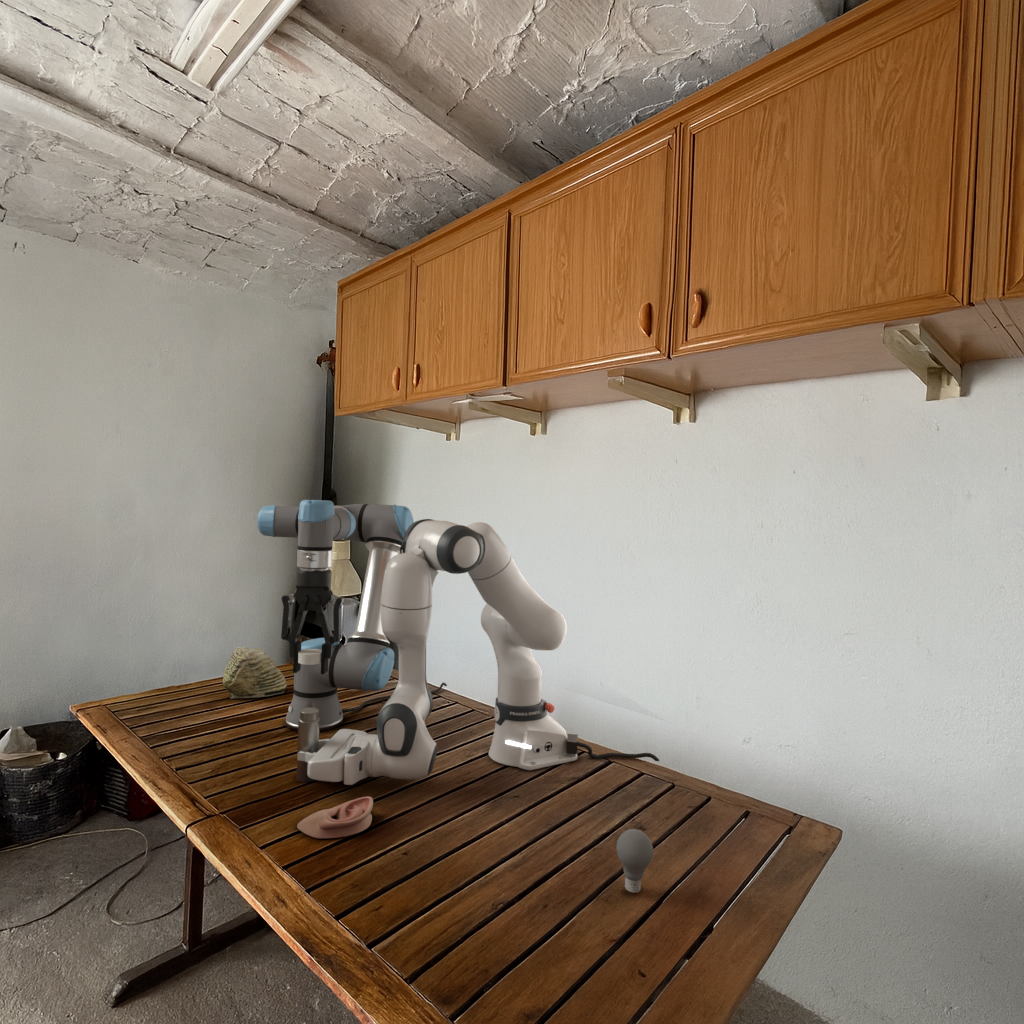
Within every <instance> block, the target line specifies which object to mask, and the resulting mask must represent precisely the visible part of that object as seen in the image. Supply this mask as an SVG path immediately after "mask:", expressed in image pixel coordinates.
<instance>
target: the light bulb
mask: <svg viewBox="0 0 1024 1024" xmlns="http://www.w3.org/2000/svg"><path fill="white" fill-rule="evenodd" d="M615 849H616V854H617V857H618V859H619V861H620V863H621V865H622V867H623V873H624V874H623V875H624V876H625V878H624V888H625V890H627V891H628V892H630V893H634V894H635V893H639V892H640V891H641V889H642V887H641V886H642V879H643V877H644V875H645V871H646V868H647V867H648V866H649V864H650V863H651V861H652V859H653V855H654V847H653V843H652V841H651V838H649V836H648V835H647V834H646V833H645V832H643V831H642V830H641V829H636V828H629V829H627V830H625V831H623V832H622V833H621V834H620V835H619V837H618V839H617V841H616V847H615Z"/></svg>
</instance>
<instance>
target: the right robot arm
mask: <svg viewBox="0 0 1024 1024" xmlns="http://www.w3.org/2000/svg"><path fill="white" fill-rule="evenodd" d="M402 551H403V553H402ZM439 571H440V572H441V571H442V572H447V573H449V574H453V575H454V574H455V575H458V574H459V575H460V574H466V573H467V574H468V575H469V578H470V579H471V582H472V583H473V584H474V587H475V588H476V590H477V591H478V593H479V595H480V596H481V598H482V600H483V601H484V602H485V603H486V604H484V606H483V608H482V611H481V613H480V625H481V628H482V630H483V631H484V632H485V633H486V635H487V636H488V638H489V640H490V643H491V645H492V649H493V652H494V655H495V660H496V665H497V695H496V696H497V697H496V698H495V704H494V715H493V716H494V722H495V723H494V730H493V735H492V740H491V743H490V747H489V750H488V752H487V753H488V756H489V758H490V759H491V760H492V761H494V762H496V763H499V764H502V765H505V766H508V767H509V766H510V767H517V768H519V769H522V770H526V771H534V770H538V769H543V768H548V767H551V766H556V765H560V764H565V763H571V762H574V761H577V760H578V747H580V748H584V749H585V750H587V753H588V754H587V755H588V756H589V757H590V758H592V759H596V760H598V759H606V758H607V759H608V758H621V759H622V758H623V759H641V758H642V759H643V758H651V759H652V760H654V761H655V762H660V758H658V757H657V756H656V755H655V754H653V753H651V752H640V753H623V752H608V753H602V754H594V753H593V748H592V747H591V746H590V745H588V744H586V743H583V742H580V741H579V740H578V739H579V737H578V736H579V735H578V734H577V733H568V732H567V731H566V729H565V728H564V727H563V726H562V725H561V724H560V723H559V722H558V721H557V720H555V719H554V718H553V717H552V716H551V715H549V714H552V713H554V711H555V709H556V708H555V706H554V705H553V704H552V703H550V702H548V701H546V700H544V699H542V687H543V686H542V685H543V671H542V668H541V666H540V664H539V663H538V662H537V660H536V659H535V657H534V655H533V654H532V653H533V652H532V650H534V651H554V650H557V649H559V647H561V646H562V644H563V643H564V641H565V639H566V637H567V634H568V633H567V631H568V625H567V621H566V618H565V616H564V615H563V613H561V612H560V611H558V610H557V609H556V608H554V607H553V606H551V605H550V604H549V603H547V602H546V601H545V599H544V598H542V597H541V596H540V595H539V593H538V592H537V591H536V590H535V589H534V587H532V586H531V585H530V584H529V582H528V581H527V580H526V578H525V577H524V576H523V574H522V572H521V571H520V569H519V567H518V565H517V563H516V561H515V560H514V558H513V556H512V554H511V551H509V549H508V547H507V545H506V544H505V542H504V541H503V540H502V537H501V536H499V534H498V533H497V532H496V531H495V529H494V528H493V527H492V525H490V524H488V523H486V522H481V521H478V522H472V523H470V524H468V525H467V526H466V525H462V524H458V523H455V522H452V521H448V520H435V519H431V518H423V519H419V520H416V521H414V523H412V524H411V525H410V526H409V527H408V529H407V530H406V532H405V535H404V537H403V542H402V545H401V547H400V554H398V555H396V556H394V557H392V558H391V559H390V560H389V562H388V564H387V567H386V570H385V575H384V580H383V586H382V593H381V609H380V616H381V625H382V631H383V633H384V635H385V636H386V638H387V640H388V641H391V642H392V643H394V644H396V646H397V649H398V681H397V684H396V686H395V688H394V690H393V692H392V693H391V695H392V696H391V697H390V698H388V699H387V701H386V702H385V703H384V705H383V706H382V707H381V708H380V710H379V713H378V714H377V718H376V733H377V734H373V733H368V732H366V731H363V730H359V729H351V728H341V729H339V730H338V731H336V733H334V735H333V736H332V737H331V738H323V739H319V749H318V752H317V753H315V752H314V753H309V752H308V750H301V751H300V752H299V753H298V756H297V755H296V760H297V759H298V760H299V761H305V762H307V763H308V770H307V775H308V777H309V778H311V779H314V780H313V781H320V782H329V783H339V782H343V785H347V786H353V785H354V784H357V782H359V781H361V780H364V779H367V778H379V777H388V778H390V779H392V780H421V779H425V778H427V777H429V776H430V775H431V773H432V771H433V770H434V766H435V762H436V759H437V756H438V743H437V742H436V741H435V740H434V739H433V738H432V736H431V734H430V733H429V730H428V728H427V726H426V722H425V721H426V720H427V719H428V718H429V717H430V715H431V714H432V711H433V707H434V699H433V695H432V694H431V690H430V686H429V684H428V681H427V641H428V635H429V630H430V627H431V619H432V612H433V586H434V582H435V579H436V577H437V576H438V574H439Z"/></svg>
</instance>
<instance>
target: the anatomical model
mask: <svg viewBox="0 0 1024 1024" xmlns="http://www.w3.org/2000/svg"><path fill="white" fill-rule="evenodd" d="M373 805H374V799H373V797H372V796H362V797H357V798H355V799H352V800H348V801H346V802H343V803H341V804H338V805H336V806H334V807H331V808H326V809H322V810H319V811H316V812H313V813H312V814H310V815H307V816H306V817H304V818H303V819H301V820H300V821H299V822H298V823H297V825H296V828H297V829H298V830H299V831H300V832H301V833H304V835H306V836H309V837H312V838H314V839H319V840H320V839H334V838H335V839H337V838H342V837H348V836H353V835H356V834H358V833H361V832H363V831H365V830H367V829H368V828H369V827H370V826H371V824H372V821H373V815H372V813H371V812H372V810H373Z"/></svg>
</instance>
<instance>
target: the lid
mask: <svg viewBox="0 0 1024 1024" xmlns="http://www.w3.org/2000/svg"><path fill="white" fill-rule="evenodd" d="M321 653H322V650H320V649H304V650H301V651H299V652H298V663H299V664H304V665H315V664H320V663H321Z"/></svg>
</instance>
